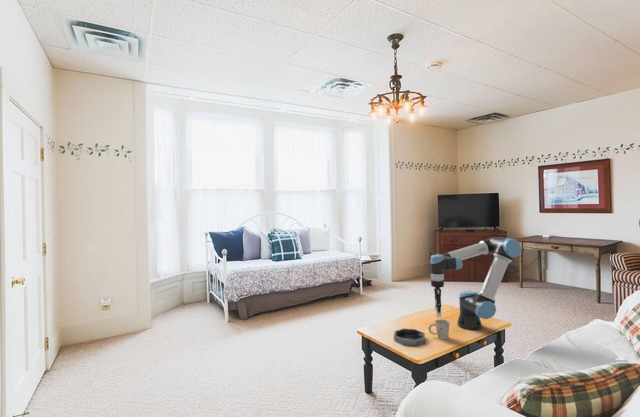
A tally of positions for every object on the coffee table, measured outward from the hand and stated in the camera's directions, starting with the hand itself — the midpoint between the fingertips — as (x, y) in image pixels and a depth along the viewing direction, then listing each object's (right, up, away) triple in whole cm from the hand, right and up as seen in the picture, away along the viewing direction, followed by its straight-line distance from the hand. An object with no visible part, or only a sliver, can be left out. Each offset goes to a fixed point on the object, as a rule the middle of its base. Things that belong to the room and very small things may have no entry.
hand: (438, 313), depth 209 cm
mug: (+1, -15, 0) cm, 15 cm away
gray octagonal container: (-18, -16, -1) cm, 24 cm away
